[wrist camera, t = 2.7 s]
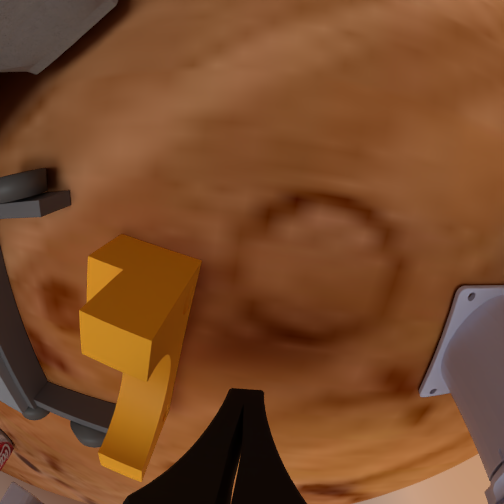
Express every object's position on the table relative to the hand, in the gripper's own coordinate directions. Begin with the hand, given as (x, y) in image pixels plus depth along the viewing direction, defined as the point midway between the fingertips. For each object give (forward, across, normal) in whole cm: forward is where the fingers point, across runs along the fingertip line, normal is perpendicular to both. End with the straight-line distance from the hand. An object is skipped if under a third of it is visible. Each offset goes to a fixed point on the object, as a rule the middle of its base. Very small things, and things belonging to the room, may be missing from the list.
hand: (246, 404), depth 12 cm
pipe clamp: (+5, +6, 0) cm, 8 cm away
